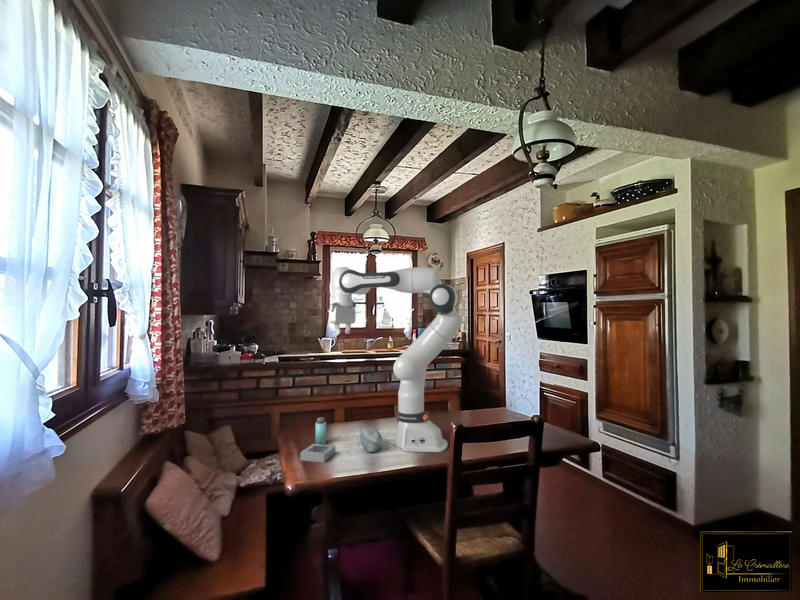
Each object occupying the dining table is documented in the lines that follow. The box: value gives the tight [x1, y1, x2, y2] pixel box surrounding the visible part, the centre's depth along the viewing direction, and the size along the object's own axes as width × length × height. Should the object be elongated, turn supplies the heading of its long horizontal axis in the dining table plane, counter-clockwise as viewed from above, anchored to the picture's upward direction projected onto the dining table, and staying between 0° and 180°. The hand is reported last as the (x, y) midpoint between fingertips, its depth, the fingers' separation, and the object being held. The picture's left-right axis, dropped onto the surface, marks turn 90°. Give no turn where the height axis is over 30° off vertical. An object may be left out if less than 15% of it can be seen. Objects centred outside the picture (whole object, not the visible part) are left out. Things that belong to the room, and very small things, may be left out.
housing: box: [299, 443, 336, 463], centre depth 153 cm, size 10×10×3 cm
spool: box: [359, 426, 383, 453], centre depth 163 cm, size 14×10×10 cm
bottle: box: [314, 416, 327, 445], centre depth 169 cm, size 4×4×11 cm
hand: (343, 333), depth 176 cm, fingers open, 8 cm apart
